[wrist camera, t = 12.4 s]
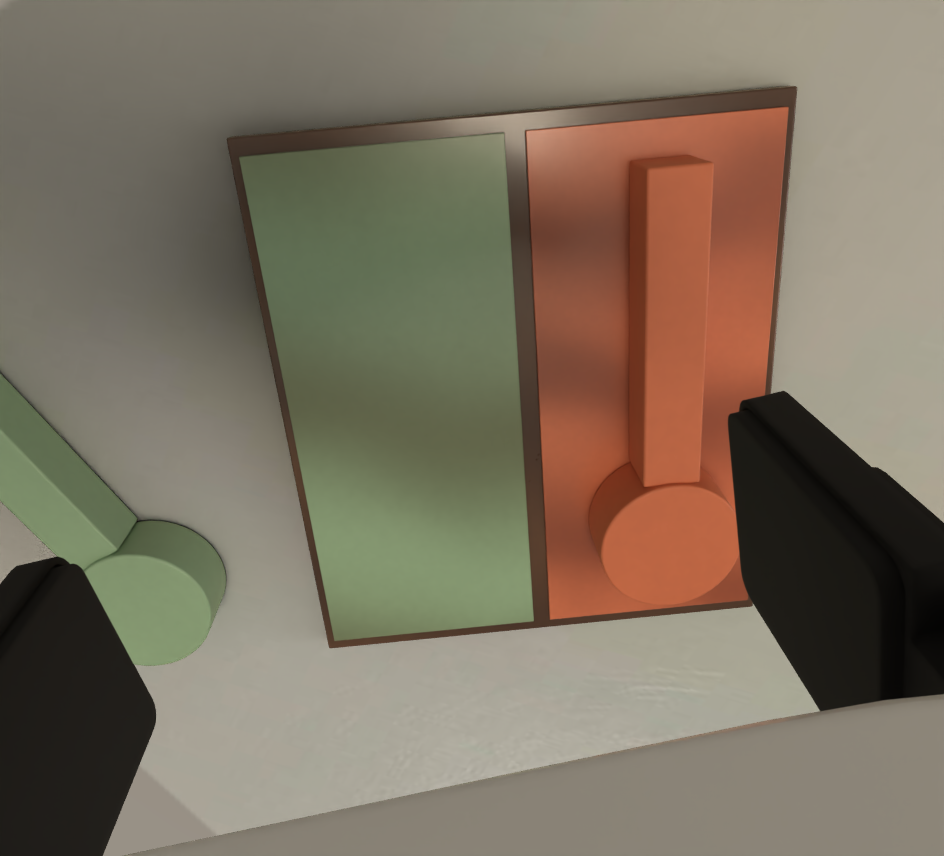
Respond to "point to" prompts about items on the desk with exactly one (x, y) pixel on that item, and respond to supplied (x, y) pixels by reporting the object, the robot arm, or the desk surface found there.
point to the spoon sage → (109, 540)
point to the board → (492, 344)
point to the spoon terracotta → (666, 400)
